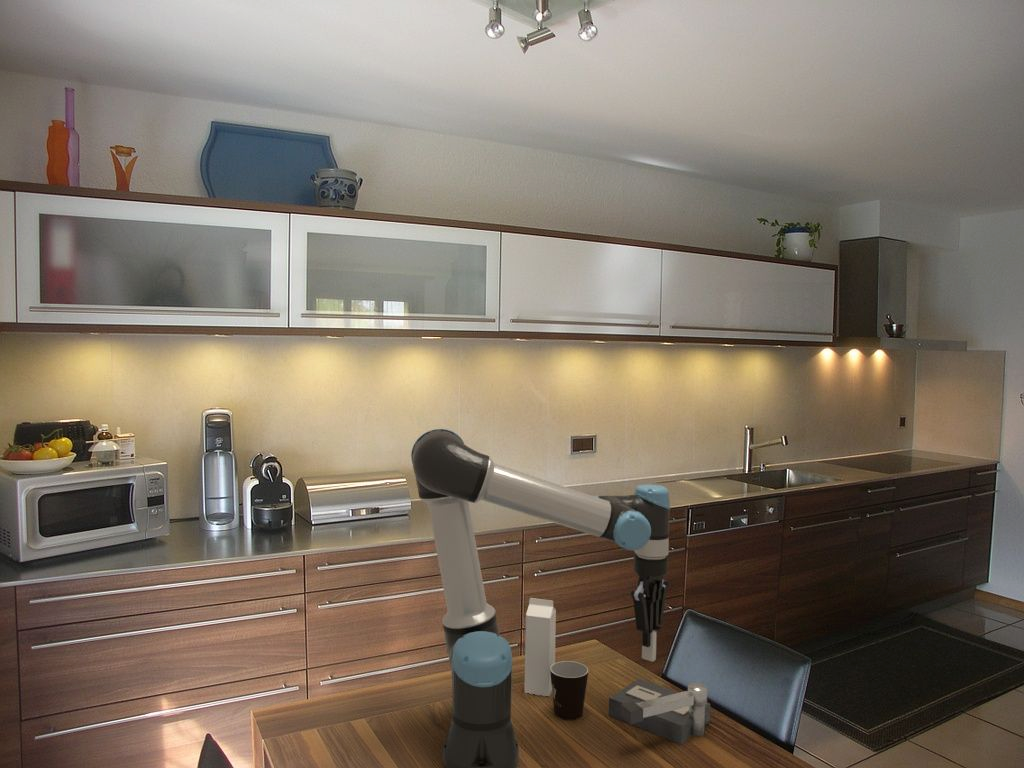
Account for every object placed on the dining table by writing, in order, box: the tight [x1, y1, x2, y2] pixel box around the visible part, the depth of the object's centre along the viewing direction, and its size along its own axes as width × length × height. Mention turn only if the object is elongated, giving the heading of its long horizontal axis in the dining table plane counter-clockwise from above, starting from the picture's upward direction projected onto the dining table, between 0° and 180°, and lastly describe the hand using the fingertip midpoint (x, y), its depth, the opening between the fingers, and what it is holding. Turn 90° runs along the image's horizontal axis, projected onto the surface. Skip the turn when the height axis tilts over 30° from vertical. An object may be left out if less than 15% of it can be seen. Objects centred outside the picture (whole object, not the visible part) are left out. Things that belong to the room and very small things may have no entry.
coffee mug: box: [550, 660, 589, 721], centre depth 162 cm, size 12×9×10 cm
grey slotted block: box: [608, 678, 711, 745], centre depth 159 cm, size 20×13×6 cm, turn 49°
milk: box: [524, 597, 557, 698], centre depth 172 cm, size 6×6×22 cm
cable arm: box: [620, 682, 708, 725], centre depth 149 cm, size 20×4×3 cm, turn 116°
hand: (648, 658), depth 161 cm, fingers closed
